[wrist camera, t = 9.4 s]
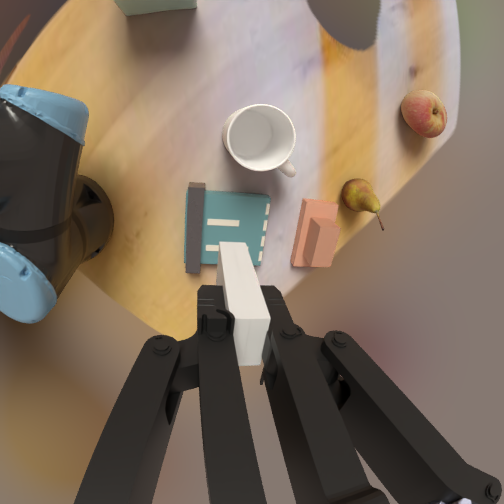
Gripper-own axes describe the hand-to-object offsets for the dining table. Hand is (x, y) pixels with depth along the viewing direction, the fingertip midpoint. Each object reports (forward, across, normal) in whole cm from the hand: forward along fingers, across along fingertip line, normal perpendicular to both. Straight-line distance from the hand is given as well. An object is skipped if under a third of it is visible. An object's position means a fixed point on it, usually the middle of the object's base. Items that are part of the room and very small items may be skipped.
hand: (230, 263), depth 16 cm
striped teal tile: (+28, +2, -9) cm, 30 cm away
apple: (+29, +34, +18) cm, 48 cm away
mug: (+29, +6, +5) cm, 30 cm away
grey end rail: (+28, -2, -9) cm, 30 cm away
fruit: (+29, +24, 0) cm, 37 cm away
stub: (+28, +18, -9) cm, 35 cm away
